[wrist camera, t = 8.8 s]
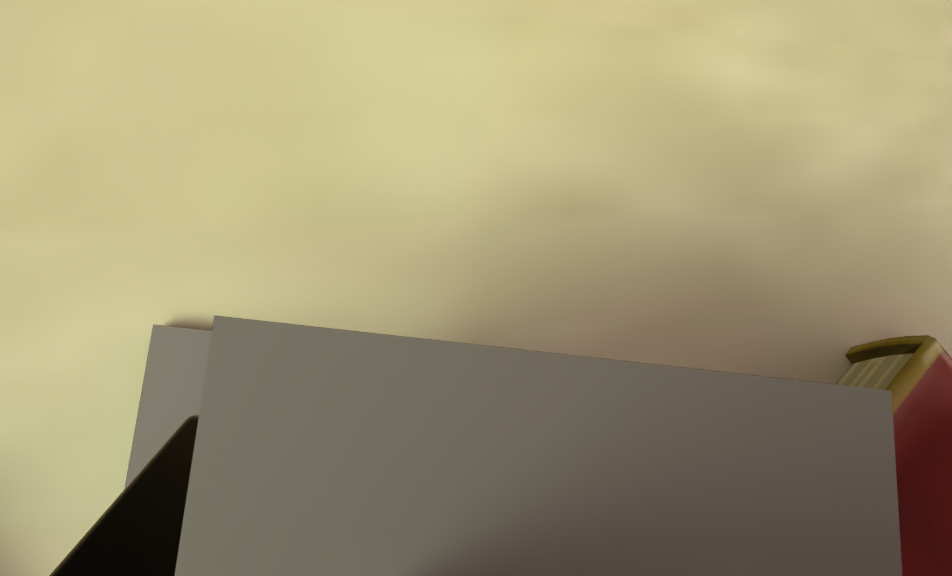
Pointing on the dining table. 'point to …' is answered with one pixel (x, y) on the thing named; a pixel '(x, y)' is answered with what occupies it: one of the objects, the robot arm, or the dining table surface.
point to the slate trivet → (168, 390)
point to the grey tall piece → (525, 464)
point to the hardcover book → (916, 441)
